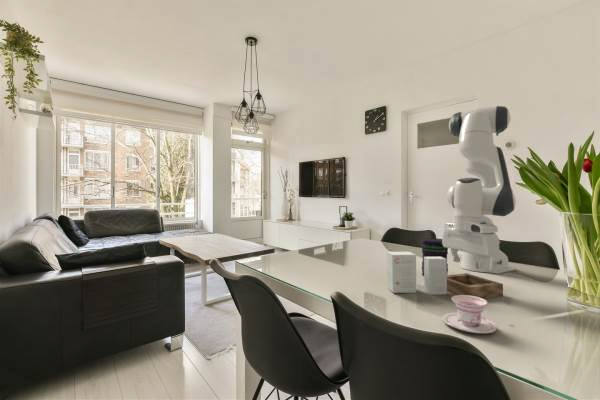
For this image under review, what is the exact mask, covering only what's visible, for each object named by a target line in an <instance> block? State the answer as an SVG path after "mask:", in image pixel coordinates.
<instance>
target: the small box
mask: <svg viewBox="0 0 600 400" xmlns="http://www.w3.org/2000/svg"><path fill="white" fill-rule="evenodd" d="M387 288H388V289H389V290H390V291H391V292H392V293H393V294H394V293H395V294H396V293H397V294H399V293H401V294H402V293H403V294H404V293H405V294H406V293H407V294H414V293H415V294H416V293H417V254H415V253H414V252H411V251H387Z"/></svg>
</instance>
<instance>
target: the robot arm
mask: <svg viewBox="0 0 600 400" xmlns="http://www.w3.org/2000/svg"><path fill="white" fill-rule="evenodd" d="M510 122H511V113H510V111H509V109H508V107H506V106H504V105H503V106H502V105H497V106H495V107H494V106H489V107H478V108H477V109H474V108H473V109H470V110H466V111H459V112H455V113H454V114H452V115H451V117H450V120H449V122H448V129H449V131H450V133H451V135H453V136H454V137H459V138H458V149H459V153H460V154H461V155H462V156H463V157H464V159H465V160H464V169H465V171H466V172H467V173H468V174H470V175H472V176H475V177H464V178H462V177H461V178H459V179H457V180H456V181H455V184H453V185H451V186H450V187H449V188H448V190H447V192H446V199H447V201H448V203H449V204H450V205H451V207H452V208H453V209H454V212H453V223H451V222H447V223H446V224H445V225H444V228H443V231H442V232H443V233H442V238H441V239H442V244H443V246H444V247H446V248H448V249H450V253H451V255H452V262H454V263H460V268H461V269H465V270H467V271H468V270H469V271H472V272H478V273H479V272H481V273H491V274H498V275H499V274H502V273H507V272H513V271H515V270H516V268H515V267H514V266H511V265H509V257H508V256H507V255H506V253H505V252H503V251H501V250H500V244H501V240H500V239H499V237H498V234H497V233H498V231H499V227H498V226H497V225H495V224H494V222H493V220H492V219H491V218H489V217H488V215H489V216H499V217H506V216H509V215H510V214H511V213H512V212H513V211H515V208H516V206H517V205H516V204H517V203H516V196H515V194H514V191H513V189H512V186H511V182H510V181H511V180H510V176H509V171H508V167H507V163H506V159H505V155H504V151H503V150H502V148H501V147H500V146H497V145H496V144H495V141H494V137H493V134H494V133H495V134H496V137H499V134H501V133H503V132H504V131H506V129H508V126H509V125H510ZM459 251H460V252H462V257H461V256H459V254H458V253H459Z"/></svg>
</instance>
